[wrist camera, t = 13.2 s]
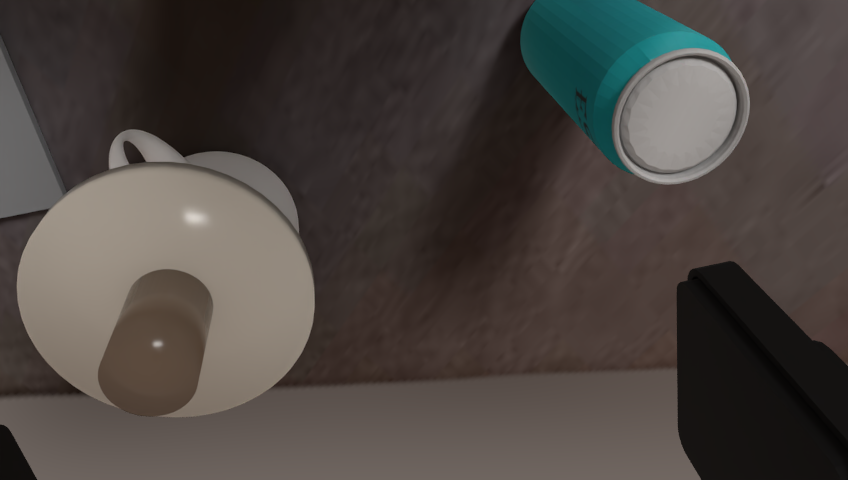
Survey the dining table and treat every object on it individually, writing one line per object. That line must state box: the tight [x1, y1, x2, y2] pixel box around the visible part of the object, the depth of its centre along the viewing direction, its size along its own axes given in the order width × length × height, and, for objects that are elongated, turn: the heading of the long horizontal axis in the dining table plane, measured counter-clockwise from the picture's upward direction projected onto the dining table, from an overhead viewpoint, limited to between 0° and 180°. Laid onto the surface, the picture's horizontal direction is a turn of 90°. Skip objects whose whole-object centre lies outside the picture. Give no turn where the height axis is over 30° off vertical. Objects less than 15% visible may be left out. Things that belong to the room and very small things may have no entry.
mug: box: [109, 129, 299, 233], centre depth 39 cm, size 9×12×11 cm
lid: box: [17, 162, 315, 418], centre depth 31 cm, size 12×12×6 cm
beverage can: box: [520, 0, 750, 184], centre depth 35 cm, size 6×6×15 cm
